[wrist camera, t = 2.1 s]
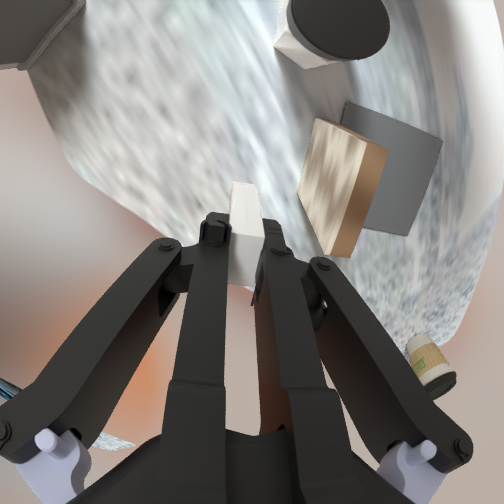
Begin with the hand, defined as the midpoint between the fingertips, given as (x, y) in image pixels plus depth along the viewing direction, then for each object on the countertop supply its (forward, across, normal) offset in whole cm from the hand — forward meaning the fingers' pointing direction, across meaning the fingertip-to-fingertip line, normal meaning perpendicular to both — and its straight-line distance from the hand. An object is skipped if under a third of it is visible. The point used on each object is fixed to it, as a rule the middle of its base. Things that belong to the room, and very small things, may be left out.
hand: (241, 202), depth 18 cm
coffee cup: (+17, +47, -33) cm, 60 cm away
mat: (+17, +19, +1) cm, 25 cm away
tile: (+17, +9, +1) cm, 19 cm away
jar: (+17, +5, +16) cm, 23 cm away
